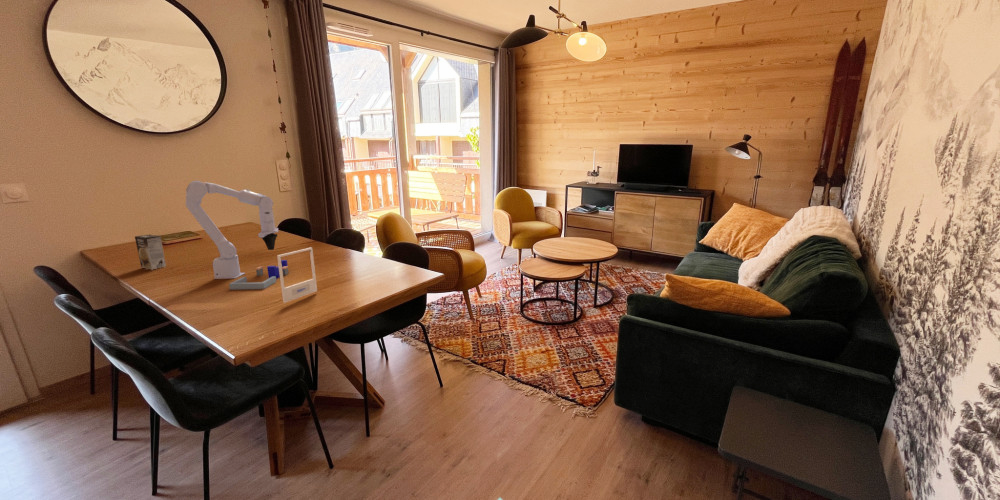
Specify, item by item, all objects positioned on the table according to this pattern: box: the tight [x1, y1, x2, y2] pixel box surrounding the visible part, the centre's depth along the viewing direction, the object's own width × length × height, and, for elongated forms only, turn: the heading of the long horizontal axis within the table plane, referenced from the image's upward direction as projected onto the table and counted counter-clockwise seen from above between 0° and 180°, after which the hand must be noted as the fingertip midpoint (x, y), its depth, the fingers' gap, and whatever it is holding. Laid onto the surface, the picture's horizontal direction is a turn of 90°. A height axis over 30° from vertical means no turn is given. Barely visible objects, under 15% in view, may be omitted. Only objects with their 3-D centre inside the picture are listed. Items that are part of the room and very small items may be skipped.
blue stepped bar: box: [266, 259, 289, 280], centre depth 183 cm, size 12×4×6 cm, turn 3°
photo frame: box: [276, 247, 318, 304], centre depth 153 cm, size 15×1×18 cm, turn 155°
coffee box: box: [134, 234, 167, 271], centre depth 195 cm, size 9×6×16 cm
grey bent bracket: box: [228, 276, 277, 291], centre depth 169 cm, size 14×10×2 cm
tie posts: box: [255, 266, 290, 277], centre depth 184 cm, size 13×3×4 cm, turn 93°
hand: (271, 249), depth 191 cm, fingers closed
